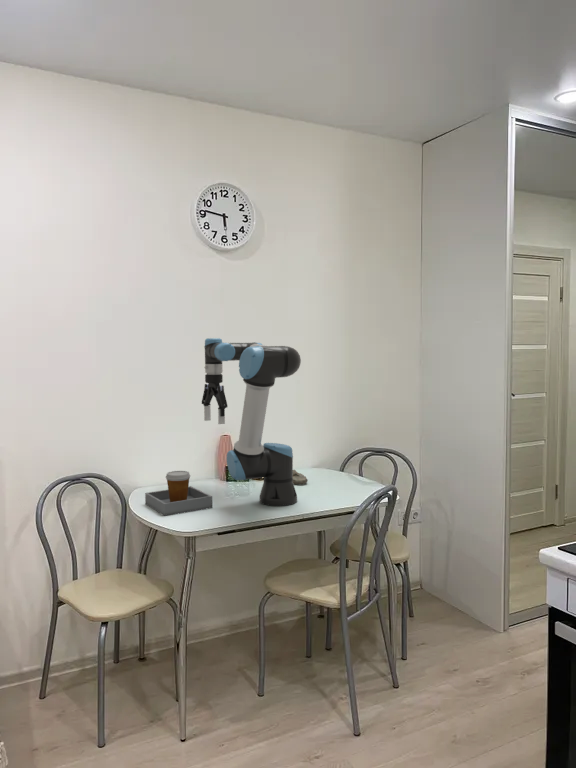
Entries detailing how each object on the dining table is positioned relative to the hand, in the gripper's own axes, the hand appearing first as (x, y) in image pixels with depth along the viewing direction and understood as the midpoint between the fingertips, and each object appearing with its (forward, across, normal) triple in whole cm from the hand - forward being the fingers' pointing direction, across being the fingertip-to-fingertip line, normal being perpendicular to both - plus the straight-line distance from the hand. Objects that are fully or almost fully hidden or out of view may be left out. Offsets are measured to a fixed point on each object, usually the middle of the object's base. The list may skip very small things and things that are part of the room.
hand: (214, 422), depth 269 cm
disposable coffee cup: (+28, +20, -26) cm, 43 cm away
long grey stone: (+29, +3, +30) cm, 42 cm away
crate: (+29, +20, -26) cm, 44 cm away
